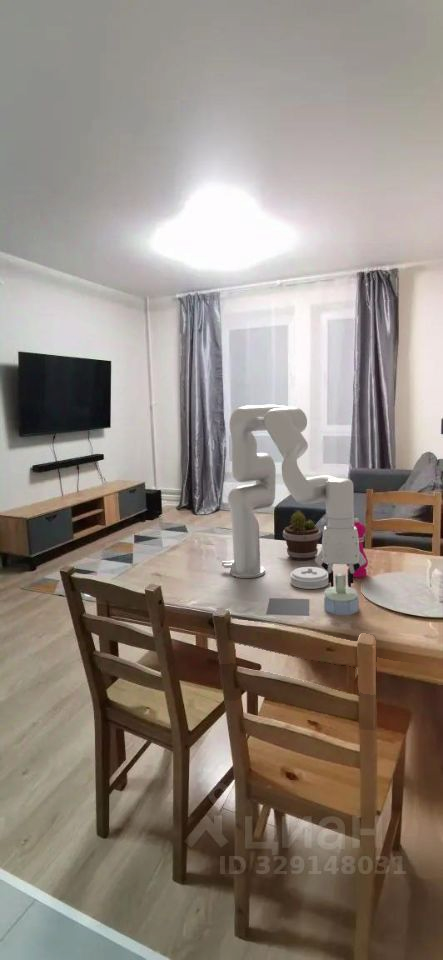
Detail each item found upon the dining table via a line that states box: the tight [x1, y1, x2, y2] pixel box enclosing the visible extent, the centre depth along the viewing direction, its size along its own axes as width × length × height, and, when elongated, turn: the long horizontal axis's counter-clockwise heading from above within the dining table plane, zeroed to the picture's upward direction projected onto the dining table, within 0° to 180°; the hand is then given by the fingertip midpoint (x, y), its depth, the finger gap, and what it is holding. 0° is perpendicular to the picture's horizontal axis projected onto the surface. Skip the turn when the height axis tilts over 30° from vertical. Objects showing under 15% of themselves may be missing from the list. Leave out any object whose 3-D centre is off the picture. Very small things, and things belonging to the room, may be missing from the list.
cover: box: [324, 572, 358, 602], centre depth 139 cm, size 9×9×6 cm
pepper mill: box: [346, 517, 369, 578], centre depth 166 cm, size 7×7×20 cm
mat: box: [265, 597, 310, 617], centre depth 142 cm, size 12×12×1 cm
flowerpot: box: [282, 510, 322, 561], centre depth 189 cm, size 14×15×20 cm
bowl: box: [323, 592, 360, 616], centre depth 139 cm, size 9×9×4 cm
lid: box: [289, 566, 330, 590], centre depth 160 cm, size 13×13×5 cm
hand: (340, 584), depth 139 cm, fingers open, 4 cm apart
